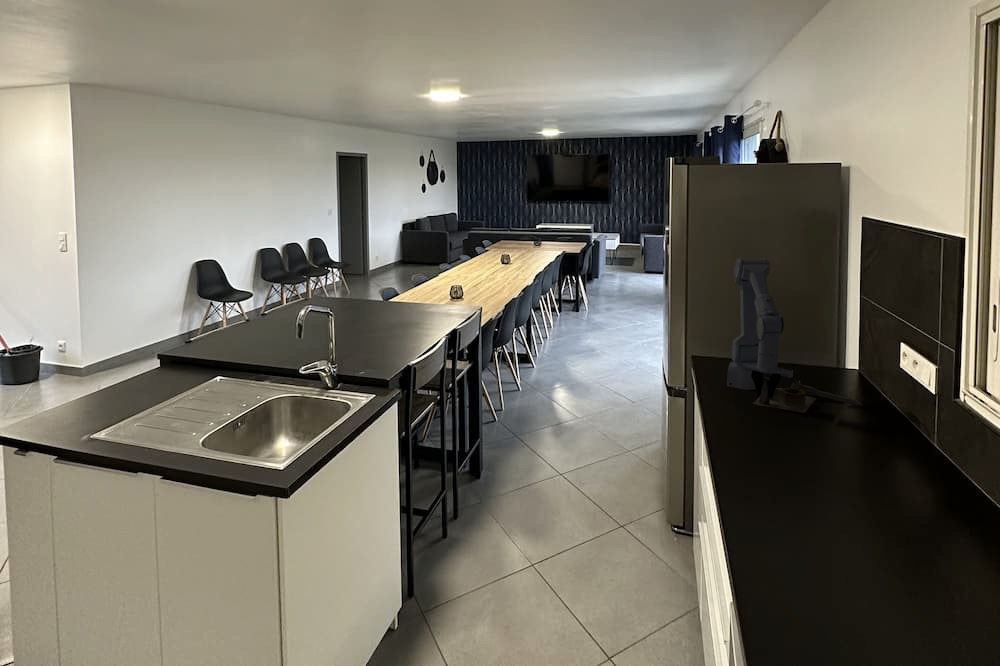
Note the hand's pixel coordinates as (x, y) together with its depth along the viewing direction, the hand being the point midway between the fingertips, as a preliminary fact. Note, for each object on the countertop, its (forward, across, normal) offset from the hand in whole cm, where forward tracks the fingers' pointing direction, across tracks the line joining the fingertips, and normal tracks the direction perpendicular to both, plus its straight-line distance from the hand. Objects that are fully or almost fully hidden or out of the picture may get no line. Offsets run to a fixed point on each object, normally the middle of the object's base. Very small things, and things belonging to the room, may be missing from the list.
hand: (764, 396), depth 200 cm
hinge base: (+3, +4, +6) cm, 9 cm away
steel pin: (+2, 0, 0) cm, 2 cm away
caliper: (+3, +15, +14) cm, 20 cm away
